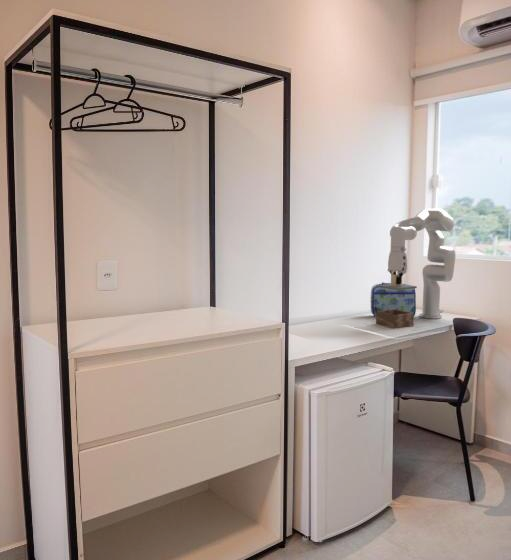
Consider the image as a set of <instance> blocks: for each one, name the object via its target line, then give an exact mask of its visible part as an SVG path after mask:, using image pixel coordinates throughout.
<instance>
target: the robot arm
mask: <svg viewBox="0 0 511 560" xmlns="http://www.w3.org/2000/svg"><path fill="white" fill-rule="evenodd" d="M454 226H455V223H454V219H453V217H452V216H451V215H450V214H448V212H447V211H445V210H444V209H442V208H426V209H423V210H421V211H420V212H418V214H416V215H415V216H413V217H410V218H407V219H404V220H401V221H399V222H396V223H395V224H393V226H392V227H391V228H390V230H389V236H390V249H389V250H390V252H389V254H388V263H387V272H389V273H390V276H391V275H395V274H397V277H396V284H401V277H402V278H403V275H404V274H407V270H408V259H407V258H408V255H407V253H406V250H407V248H406V241H412V240H414V239H415V238H416V237H417V234H418V232H420V231H422V230H424V229H425V230H426V232H427V235H428V237H429V239H428V240H429V241H428V250H427V261H429V262H430V263H438V264H426V265H425V266H423V268H422V278H423V279H422V280H423V293H422V313H419V317H421V318H422V319H423V318H425V319H441V318H442V313H444V309H440V301H441V299H440V298H441V287H440V285H439V283H438V282H442V283H443V282H444V283H448V282H451V281H452V280H453V278H454V277H453V276H454V271H455V263H456V251H455V249H454V248H452V247H450V246H449V247H448V246H445V236H444V235H443V233H442V232H450V231H452V230H453V228H454ZM439 263H441V264H443V265H441V264H439Z"/></svg>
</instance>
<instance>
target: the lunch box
mask: <svg viewBox="0 0 511 560" xmlns="http://www.w3.org/2000/svg"><path fill="white" fill-rule="evenodd" d="M382 284H391V282H384V281H383V282H381V283H377V284H374V285H372V286H371V288H370V289H371V290H370V312H371V314H372V315H373V317H375V318H376V312H377V311H384V310H392V309H396V310H401V311H406V312H411V313H414V316H416V312H417V310H416V309H417V305H416V303H417V302H416V299H417V298H416V297H417V296H416V295H417V294H416V288H414V289H404V290H393V289H386V288H380V287H376V285H382ZM403 284H404V285H409V284H407V283H403Z"/></svg>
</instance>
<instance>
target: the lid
mask: <svg viewBox="0 0 511 560" xmlns="http://www.w3.org/2000/svg"><path fill="white" fill-rule="evenodd" d="M396 277H397V273H396V274H395V275H391V274H390V283H391V284H382V283H381V284H382V285H376V284H375V285H376V287H380V288H386V289H393V290H404V289H414V288H415V289H417V288H418V287H417V285H410V284H408V285H404V284H405V283H403V276H402V277H401V284H396Z"/></svg>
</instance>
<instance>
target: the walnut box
mask: <svg viewBox="0 0 511 560" xmlns="http://www.w3.org/2000/svg"><path fill="white" fill-rule="evenodd" d="M375 318H376V319H375V324H376V325H379V326H383V327H387V328H392V329H402V328H408V327H414V325H415V323H414V320H415V315H414V313H411V312H406V311H401V310H396V309H392V310H384V311H377V312H376V317H375Z"/></svg>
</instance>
